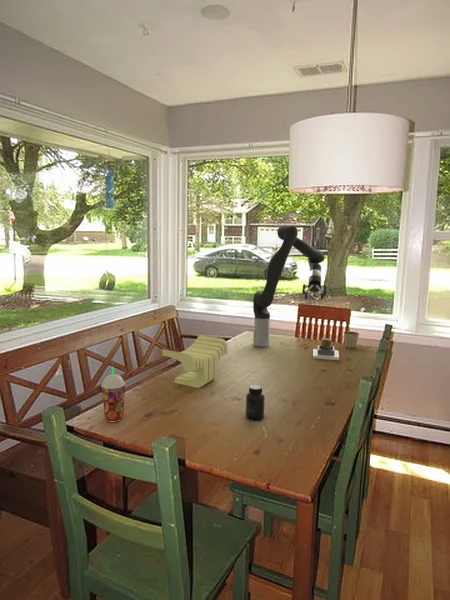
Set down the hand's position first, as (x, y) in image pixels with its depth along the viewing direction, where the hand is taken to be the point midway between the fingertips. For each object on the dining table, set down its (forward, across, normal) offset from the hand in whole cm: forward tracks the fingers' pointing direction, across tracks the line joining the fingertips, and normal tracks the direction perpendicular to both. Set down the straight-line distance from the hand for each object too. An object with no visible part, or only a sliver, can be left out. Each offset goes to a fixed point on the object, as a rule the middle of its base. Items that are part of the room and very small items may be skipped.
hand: (313, 299), depth 259 cm
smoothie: (+108, -69, -67) cm, 145 cm away
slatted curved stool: (+75, -51, -34) cm, 97 cm away
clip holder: (+34, +8, +6) cm, 36 cm away
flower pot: (+18, +23, +23) cm, 37 cm away
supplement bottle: (+98, -19, -57) cm, 115 cm away
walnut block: (+33, +8, +5) cm, 34 cm away
